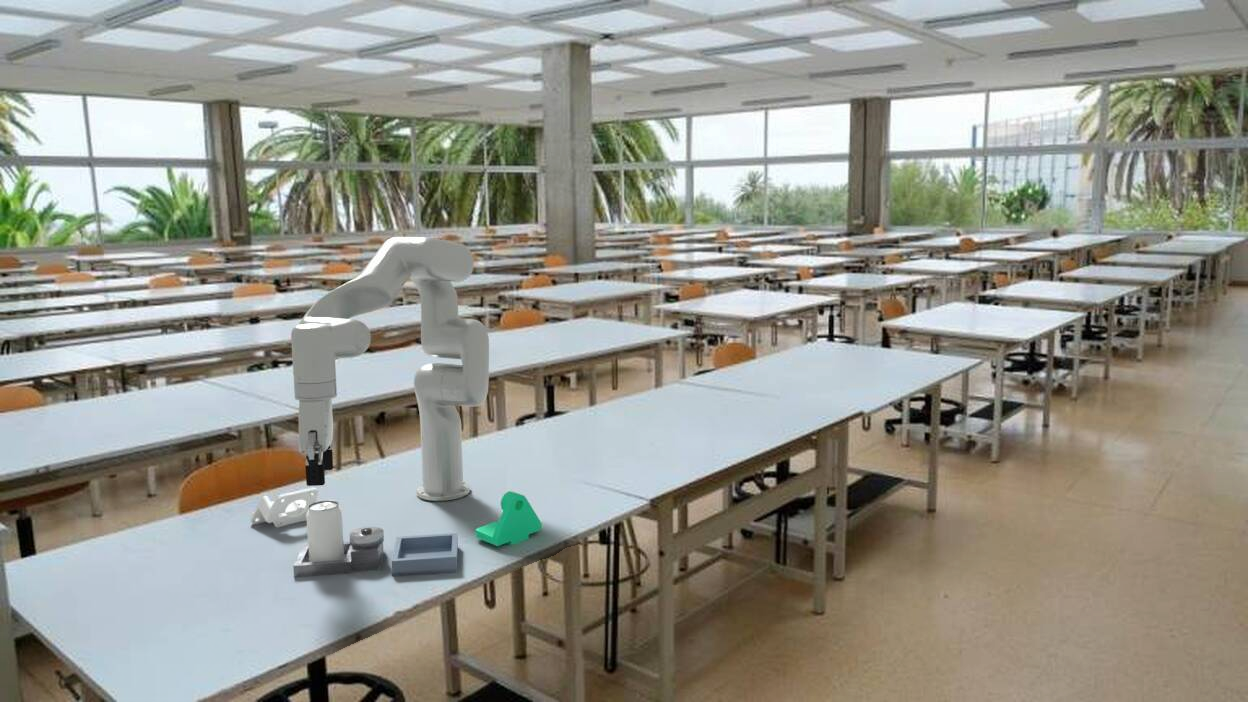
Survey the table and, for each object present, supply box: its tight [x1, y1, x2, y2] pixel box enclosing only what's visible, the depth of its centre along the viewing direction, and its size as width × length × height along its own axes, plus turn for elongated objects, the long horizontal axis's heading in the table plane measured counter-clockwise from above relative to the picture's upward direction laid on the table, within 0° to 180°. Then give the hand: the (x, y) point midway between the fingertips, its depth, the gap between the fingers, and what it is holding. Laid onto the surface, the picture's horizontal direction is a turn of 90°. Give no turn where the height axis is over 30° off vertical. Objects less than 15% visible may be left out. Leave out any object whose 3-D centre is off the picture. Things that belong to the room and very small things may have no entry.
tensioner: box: [292, 526, 385, 578], centre depth 171 cm, size 10×16×6 cm, turn 100°
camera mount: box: [475, 490, 542, 547], centre depth 184 cm, size 12×8×10 cm, turn 138°
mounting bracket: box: [250, 486, 319, 528], centre depth 192 cm, size 12×6×11 cm, turn 131°
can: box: [306, 499, 345, 562], centre depth 170 cm, size 6×6×12 cm
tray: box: [391, 532, 459, 577], centre depth 172 cm, size 12×12×3 cm
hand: (320, 477), depth 168 cm, fingers open, 9 cm apart
